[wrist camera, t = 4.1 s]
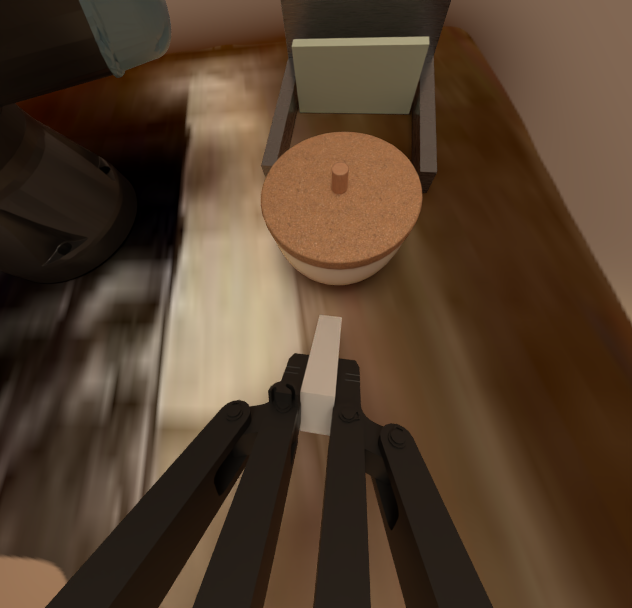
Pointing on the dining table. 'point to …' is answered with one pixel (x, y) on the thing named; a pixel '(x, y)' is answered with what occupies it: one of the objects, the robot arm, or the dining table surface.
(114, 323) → the dining table surface
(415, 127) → the grey u-shaped frame
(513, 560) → the dining table surface
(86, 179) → the robot arm
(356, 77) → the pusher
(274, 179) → the lidded jar
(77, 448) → the dining table surface
